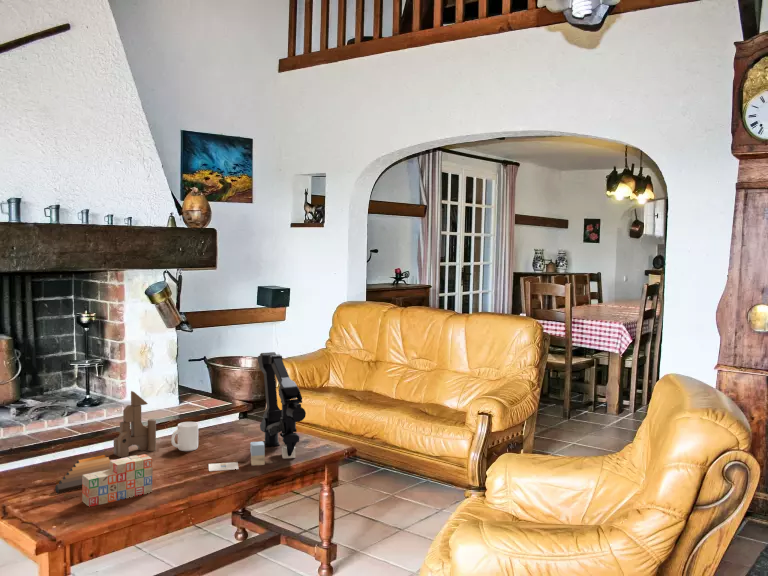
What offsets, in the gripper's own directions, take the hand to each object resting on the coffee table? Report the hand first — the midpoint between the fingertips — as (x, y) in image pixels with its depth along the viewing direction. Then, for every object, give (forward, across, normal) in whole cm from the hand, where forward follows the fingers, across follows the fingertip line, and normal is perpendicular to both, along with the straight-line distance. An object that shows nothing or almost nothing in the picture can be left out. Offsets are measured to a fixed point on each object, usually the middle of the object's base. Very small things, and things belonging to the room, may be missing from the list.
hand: (288, 453), depth 278 cm
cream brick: (+1, 0, 0) cm, 1 cm away
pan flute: (+2, +8, -76) cm, 77 cm away
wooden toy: (+1, -18, -60) cm, 63 cm away
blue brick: (-3, +6, -13) cm, 15 cm away
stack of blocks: (+1, +32, -62) cm, 69 cm away
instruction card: (+1, +8, -26) cm, 27 cm away
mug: (+1, -18, -41) cm, 45 cm away
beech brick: (+1, +6, -13) cm, 14 cm away
